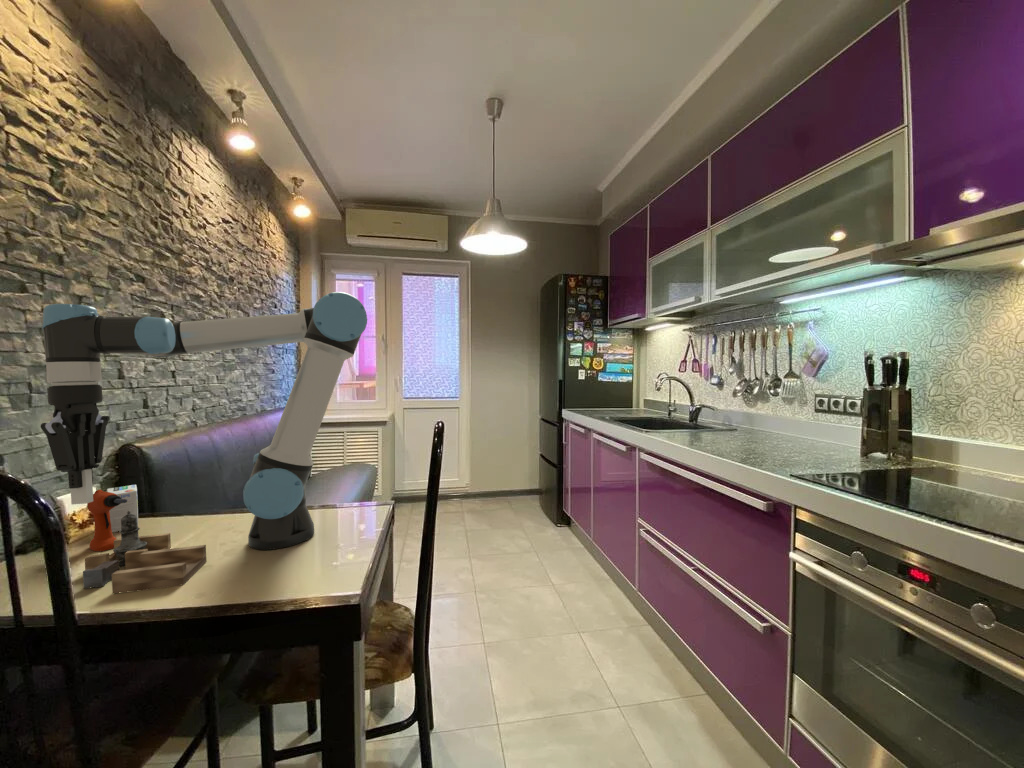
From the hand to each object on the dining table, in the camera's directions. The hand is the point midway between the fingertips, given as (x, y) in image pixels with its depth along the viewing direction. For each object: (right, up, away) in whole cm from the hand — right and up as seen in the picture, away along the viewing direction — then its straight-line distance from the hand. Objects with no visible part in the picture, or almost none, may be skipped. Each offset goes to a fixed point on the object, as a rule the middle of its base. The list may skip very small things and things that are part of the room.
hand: (82, 502), depth 84 cm
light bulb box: (-28, -18, +39) cm, 51 cm away
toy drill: (-15, -18, +22) cm, 32 cm away
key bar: (-1, -18, +5) cm, 19 cm away
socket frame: (-4, -18, +15) cm, 23 cm away
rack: (+10, -18, +7) cm, 22 cm away
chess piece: (-4, -18, +15) cm, 24 cm away
